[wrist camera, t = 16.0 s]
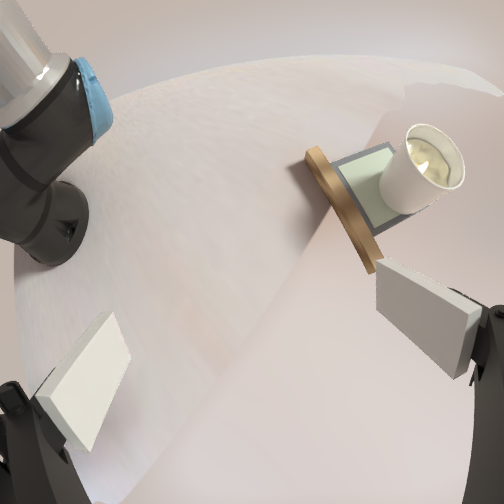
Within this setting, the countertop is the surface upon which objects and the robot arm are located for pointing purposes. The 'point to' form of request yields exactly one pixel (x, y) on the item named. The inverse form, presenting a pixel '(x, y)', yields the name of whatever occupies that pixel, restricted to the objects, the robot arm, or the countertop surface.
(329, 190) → the brown wooden bar
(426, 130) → the candle holder
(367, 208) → the square tile
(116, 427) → the countertop surface
